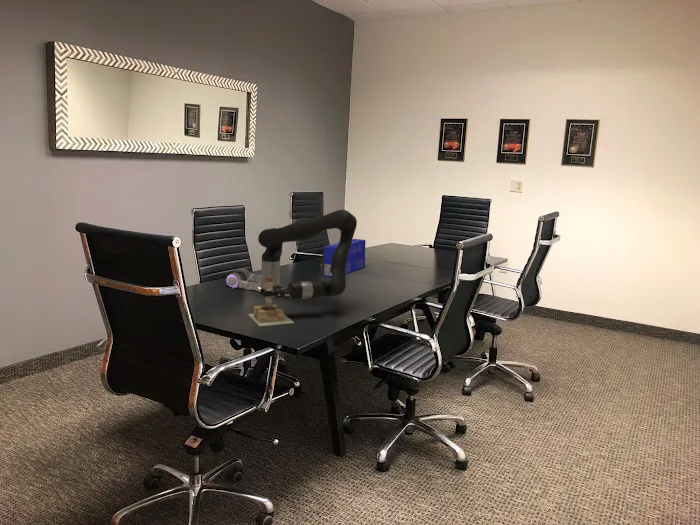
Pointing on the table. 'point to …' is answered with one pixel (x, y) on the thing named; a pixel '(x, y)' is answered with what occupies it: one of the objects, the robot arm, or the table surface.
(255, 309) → the wooden square frame
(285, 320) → the mat
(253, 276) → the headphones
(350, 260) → the toner cartridge box
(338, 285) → the robot arm
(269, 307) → the peg
